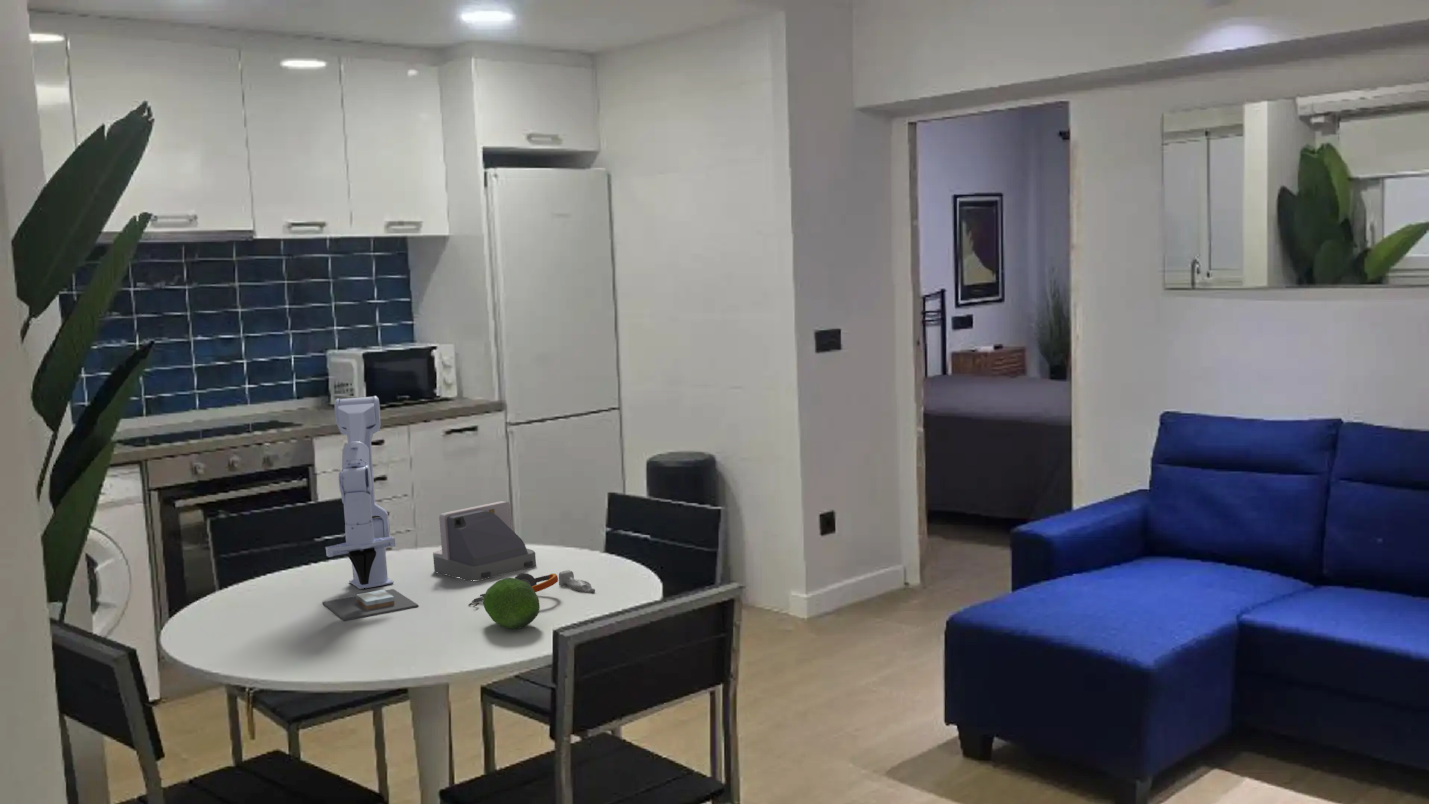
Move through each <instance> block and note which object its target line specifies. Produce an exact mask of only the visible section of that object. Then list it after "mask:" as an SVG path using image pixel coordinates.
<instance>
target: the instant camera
mask: <svg viewBox="0 0 1429 804" xmlns="http://www.w3.org/2000/svg"><path fill="white" fill-rule="evenodd" d="M438 517H439V529H440V530H439V531H440V542H441V544H440V545H441V550H440V549H439V550H437V551H433V553H432V557H433V568H434V572H435V573H436V572H438V573H437V574H440V573H441V575H444V574H447V575H446V576H448V575H450V576H449V577H452V576H453V577H452V578H456V577H460V578H462V579H461V580H463V579H465V580H464V581H467V580H472V581H471V582H474V581H473V580H479V581H483V580H486V579H485V578H487V579H489V578H488V577H491V578H494V577H498V575H499V576H502V575H501V574H503V575H506V574H510V572H511V573H513V572H514V571H515V572H519V571H522V570H521V569H523V570H525V569H524V568H527V569H529V568H534V567H536V566H537V562H536V561H537V559H536V557H537V556H536V552H535V550H533V549H531V548H527V546H526V544H525V542H524V540H523V539H522V538H521V537H520V536H519V535H518V534H517V533H516V532H515V531H514V530H513V527H512V515H511V503H510V502H507V501H503V500H501V501H496V502H491V503H485V504H480V505H476V506H475V505H474V506H472V507H466V508H461V509H456V510H451V511H447V512H442V513H440V514H439V516H438ZM535 565H536V566H535ZM533 566H534V567H533ZM482 579H483V580H482Z"/></svg>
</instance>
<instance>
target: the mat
mask: <svg viewBox="0 0 1429 804" xmlns="http://www.w3.org/2000/svg"><path fill="white" fill-rule="evenodd" d="M384 591H386V592H387V593H389V594H391V595H392V596H394V604H395V605H391V606H385V607H380V608H375V609H370V610H366V609H365V608H364V607H362V606H361V605H360V604H358V603H357V599H356V595H353V596H347V597H342V598H336V599H335V598H334V599H331V600H325V601H322V604H323V605H324V606H325V607H326V608H327V609H329V610H330V611H331V612H332V613H334V614H335V615H336V616H338V617H339V618H340V619H341V620H342V621H344V622H346V621H351V620H355V619H360V618H361V619H362V618H366V617H372V616H378V615H383V614H387V613H388V614H389V613H392V612H397V611H398V610H399V611H403V610H402V609H404V610H408V609H413V607H414V608H418V607H419V604H418V603H416V602H415V601H413V600H411V599H410V598H408V597H407V596H405V595H403V594H402V593H401V592H399V591H397V590H396V589H394V588H390V589H385V590H384ZM417 606H418V607H417Z"/></svg>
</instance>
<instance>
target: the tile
mask: <svg viewBox="0 0 1429 804" xmlns="http://www.w3.org/2000/svg"><path fill="white" fill-rule="evenodd" d="M355 596H356V599H357V603H358V604H360V605H361V606H362V607H364V608H365V609H366V610H370V609H375V608H380V607H385V606H391V605H395V604H394V596H392V595H391V594H389V593H387V592H386V591H385V590H384V589H380V590H373V591H368V592H362V593H357V594H356V595H355Z"/></svg>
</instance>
